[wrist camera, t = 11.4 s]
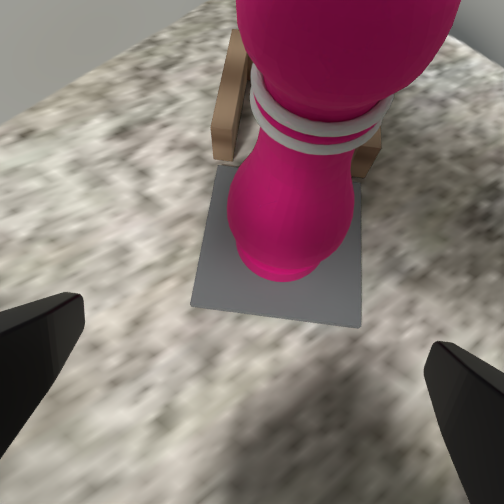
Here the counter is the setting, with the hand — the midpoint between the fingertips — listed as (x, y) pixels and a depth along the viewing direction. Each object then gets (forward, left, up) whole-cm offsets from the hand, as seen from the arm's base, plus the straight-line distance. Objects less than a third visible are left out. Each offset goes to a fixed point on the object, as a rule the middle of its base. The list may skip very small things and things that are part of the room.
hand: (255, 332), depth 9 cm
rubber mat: (+6, -7, -14) cm, 16 cm away
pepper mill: (+6, -7, -13) cm, 16 cm away
